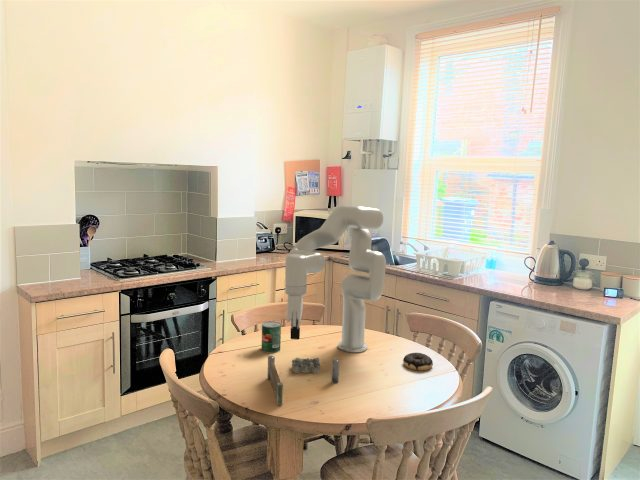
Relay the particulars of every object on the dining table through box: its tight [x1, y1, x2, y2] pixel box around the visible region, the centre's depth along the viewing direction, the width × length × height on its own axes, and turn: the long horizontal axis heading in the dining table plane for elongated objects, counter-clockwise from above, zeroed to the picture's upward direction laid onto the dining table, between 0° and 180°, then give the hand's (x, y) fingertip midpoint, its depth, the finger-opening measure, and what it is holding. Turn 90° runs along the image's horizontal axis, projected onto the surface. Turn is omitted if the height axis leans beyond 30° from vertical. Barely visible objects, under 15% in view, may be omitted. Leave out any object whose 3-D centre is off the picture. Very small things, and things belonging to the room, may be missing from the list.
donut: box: [402, 352, 434, 372], centre depth 200 cm, size 11×12×4 cm
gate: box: [270, 362, 284, 406], centre depth 172 cm, size 2×20×7 cm, turn 13°
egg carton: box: [291, 357, 321, 374], centre depth 193 cm, size 11×8×4 cm
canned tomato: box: [261, 320, 282, 354], centre depth 211 cm, size 8×8×11 cm
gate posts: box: [267, 355, 340, 384], centre depth 182 cm, size 2×25×8 cm, turn 88°
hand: (295, 338), depth 184 cm, fingers closed
